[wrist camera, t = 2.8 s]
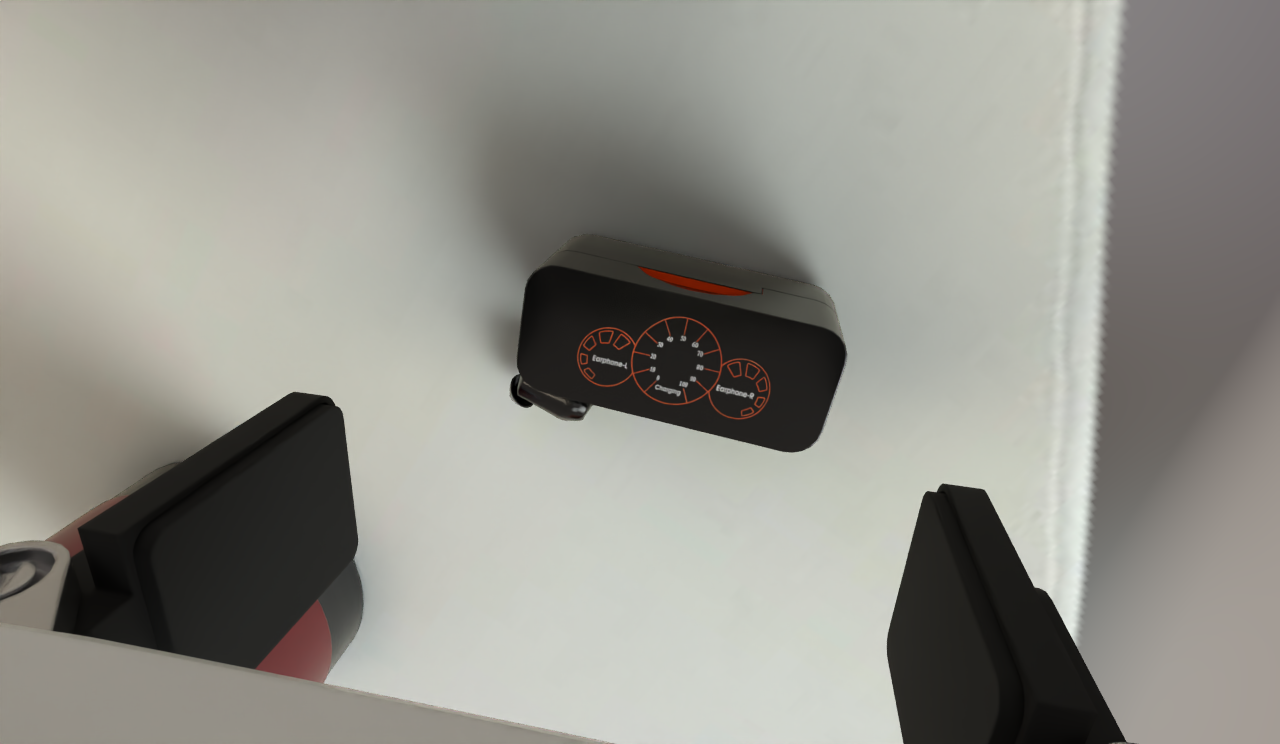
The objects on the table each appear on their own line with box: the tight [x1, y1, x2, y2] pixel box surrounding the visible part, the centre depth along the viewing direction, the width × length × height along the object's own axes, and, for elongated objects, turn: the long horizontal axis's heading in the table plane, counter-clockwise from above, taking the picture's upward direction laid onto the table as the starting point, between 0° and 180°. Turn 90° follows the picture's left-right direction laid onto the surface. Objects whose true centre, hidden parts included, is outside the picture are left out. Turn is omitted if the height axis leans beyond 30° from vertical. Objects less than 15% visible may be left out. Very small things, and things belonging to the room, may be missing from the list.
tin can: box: [45, 462, 363, 683], centre depth 19 cm, size 8×8×9 cm
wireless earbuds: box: [510, 234, 847, 453], centre depth 16 cm, size 5×7×3 cm, turn 80°
